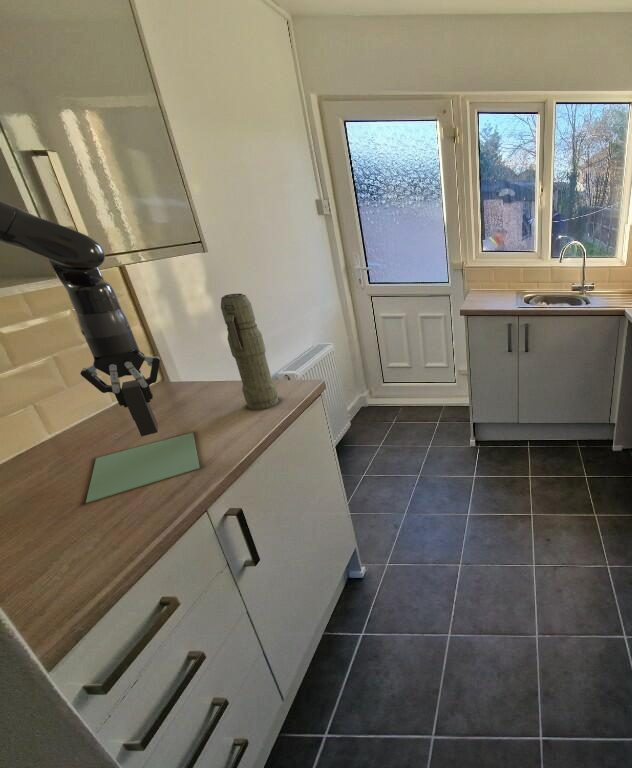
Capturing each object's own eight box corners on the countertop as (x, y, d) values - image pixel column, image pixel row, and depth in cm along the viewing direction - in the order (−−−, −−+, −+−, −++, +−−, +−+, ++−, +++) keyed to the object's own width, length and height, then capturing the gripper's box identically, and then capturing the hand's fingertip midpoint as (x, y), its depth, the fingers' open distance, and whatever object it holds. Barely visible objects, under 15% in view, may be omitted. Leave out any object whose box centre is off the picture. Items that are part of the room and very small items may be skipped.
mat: (86, 504, 88) (85, 502, 88) (96, 460, 104) (95, 458, 104) (200, 469, 100) (199, 467, 99) (193, 434, 115) (193, 432, 115)
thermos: (242, 414, 126) (206, 300, 112) (254, 398, 136) (223, 292, 123) (273, 411, 128) (243, 298, 114) (283, 395, 138) (256, 290, 124)
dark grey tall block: (139, 437, 95) (119, 389, 91) (140, 428, 99) (121, 382, 94) (157, 432, 97) (138, 385, 93) (157, 424, 101) (139, 379, 96)
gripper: (150, 322, 95) (175, 390, 102) (64, 334, 87) (98, 407, 94) (149, 329, 90) (176, 400, 97) (58, 342, 82) (94, 418, 89)
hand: (137, 403), depth 95 cm, fingers closed on dark grey tall block, 3 cm apart
